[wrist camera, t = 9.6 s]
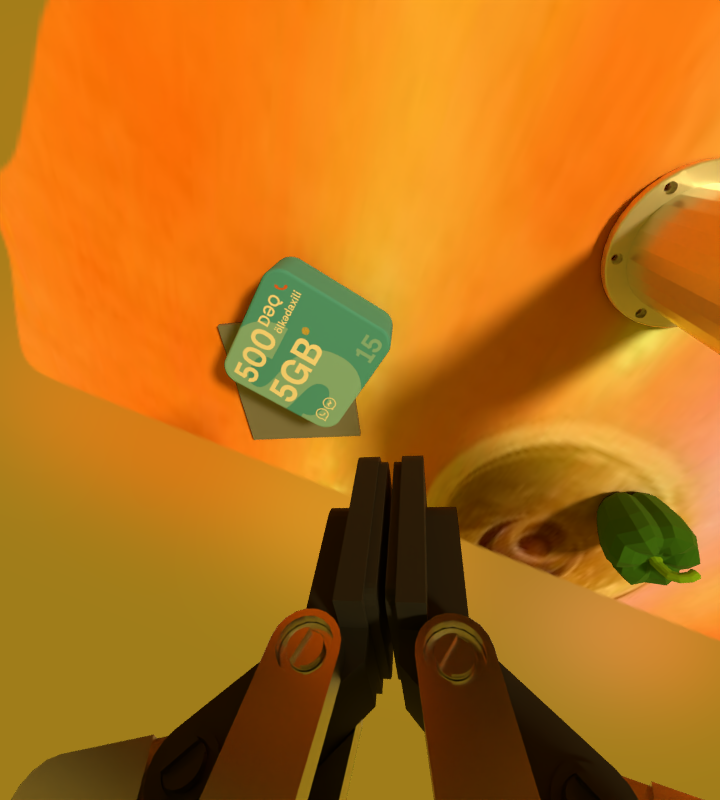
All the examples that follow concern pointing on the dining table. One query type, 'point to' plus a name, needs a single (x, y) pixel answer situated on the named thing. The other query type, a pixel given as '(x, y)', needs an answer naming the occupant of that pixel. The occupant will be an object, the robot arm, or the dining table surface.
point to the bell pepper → (646, 540)
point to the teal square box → (308, 342)
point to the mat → (283, 410)
